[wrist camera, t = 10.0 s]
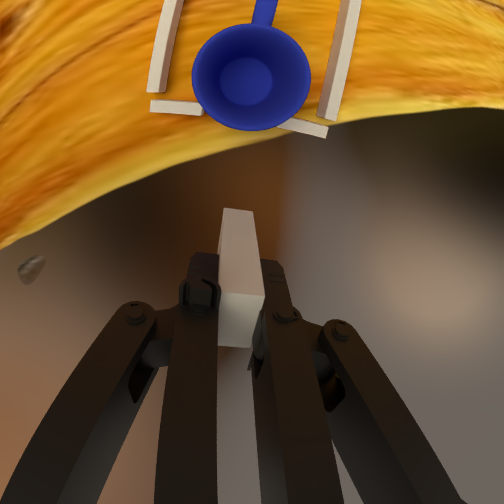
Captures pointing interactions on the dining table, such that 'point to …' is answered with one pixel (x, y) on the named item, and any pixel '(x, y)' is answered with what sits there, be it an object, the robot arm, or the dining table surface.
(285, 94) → the mug
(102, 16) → the dining table surface
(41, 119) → the dining table surface
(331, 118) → the beige rectangular bars
